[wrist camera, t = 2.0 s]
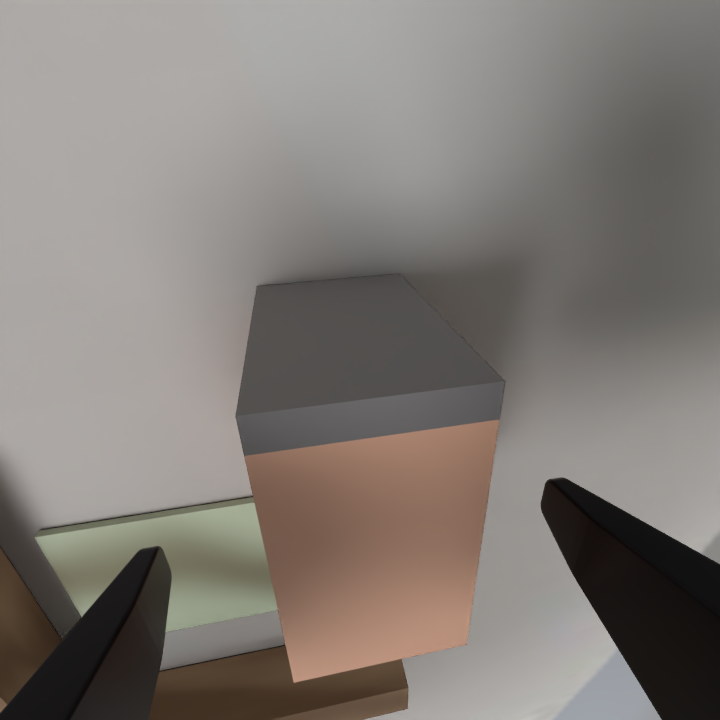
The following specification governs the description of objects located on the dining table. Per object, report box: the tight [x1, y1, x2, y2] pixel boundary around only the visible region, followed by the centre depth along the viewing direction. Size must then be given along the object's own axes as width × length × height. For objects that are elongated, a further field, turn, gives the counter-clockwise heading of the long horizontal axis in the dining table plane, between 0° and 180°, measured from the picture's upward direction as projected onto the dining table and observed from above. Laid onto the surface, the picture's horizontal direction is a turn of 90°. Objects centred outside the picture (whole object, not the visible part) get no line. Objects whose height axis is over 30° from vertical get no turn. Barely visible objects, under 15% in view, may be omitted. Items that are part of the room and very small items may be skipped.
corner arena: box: [0, 497, 408, 720], centre depth 17 cm, size 16×17×3 cm
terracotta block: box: [236, 274, 505, 683], centre depth 12 cm, size 8×4×7 cm, turn 2°
